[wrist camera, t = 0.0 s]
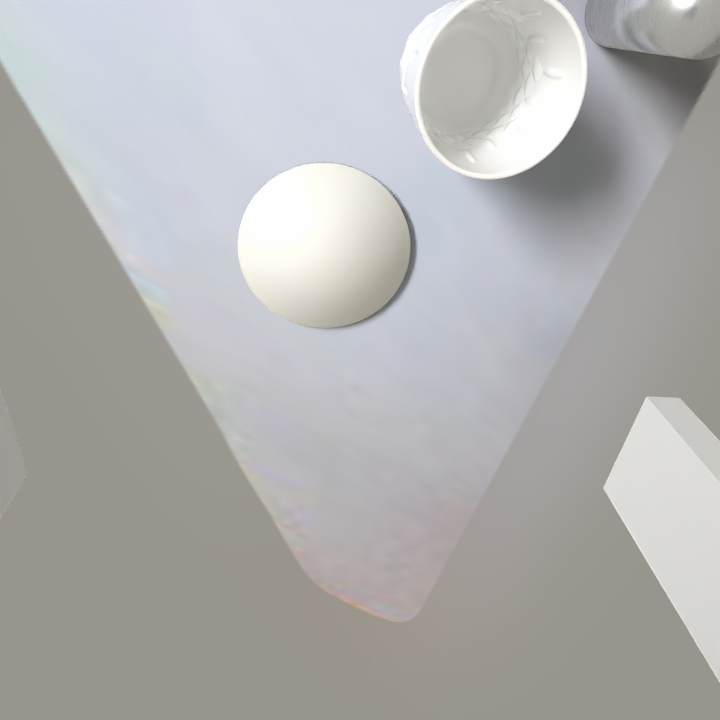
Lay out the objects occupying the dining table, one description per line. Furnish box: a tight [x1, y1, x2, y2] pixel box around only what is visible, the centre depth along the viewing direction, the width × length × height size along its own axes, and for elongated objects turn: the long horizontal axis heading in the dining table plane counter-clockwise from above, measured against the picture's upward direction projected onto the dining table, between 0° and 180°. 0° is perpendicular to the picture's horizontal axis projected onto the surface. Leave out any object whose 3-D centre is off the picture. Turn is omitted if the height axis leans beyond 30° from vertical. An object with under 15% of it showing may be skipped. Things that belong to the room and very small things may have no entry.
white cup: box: [400, 0, 588, 180], centre depth 29 cm, size 8×8×10 cm
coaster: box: [238, 162, 411, 328], centre depth 38 cm, size 12×12×1 cm
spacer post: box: [585, 0, 720, 60], centre depth 28 cm, size 4×4×9 cm
